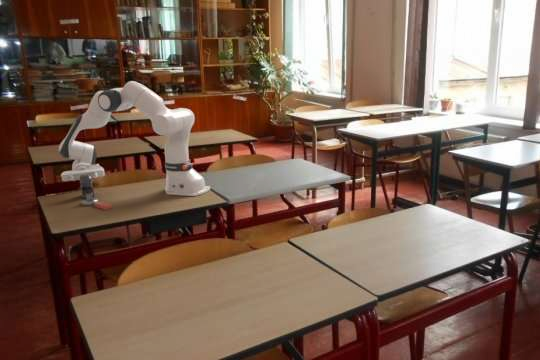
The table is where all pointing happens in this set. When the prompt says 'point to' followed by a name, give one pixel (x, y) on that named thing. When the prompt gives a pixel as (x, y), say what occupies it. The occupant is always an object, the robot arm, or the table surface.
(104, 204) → the ratchet
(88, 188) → the socket
